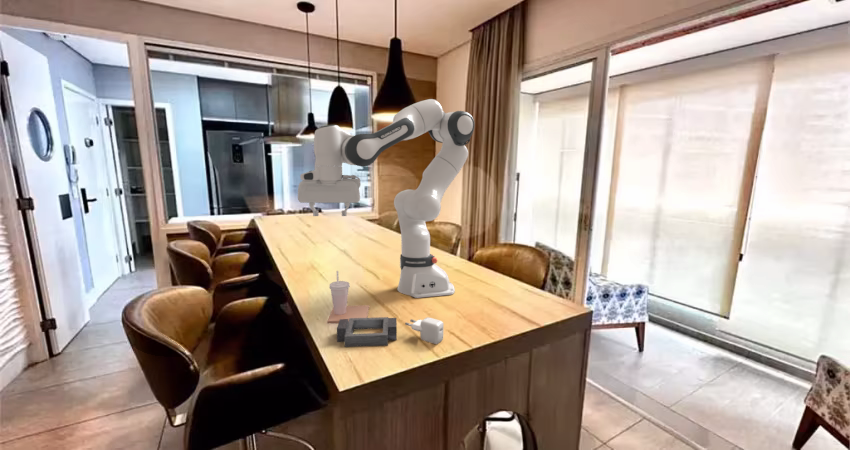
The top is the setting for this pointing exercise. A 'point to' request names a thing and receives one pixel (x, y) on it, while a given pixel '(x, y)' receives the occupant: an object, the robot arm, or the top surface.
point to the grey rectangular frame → (366, 339)
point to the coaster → (349, 313)
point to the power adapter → (428, 329)
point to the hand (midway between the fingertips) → (330, 215)
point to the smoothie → (339, 295)
